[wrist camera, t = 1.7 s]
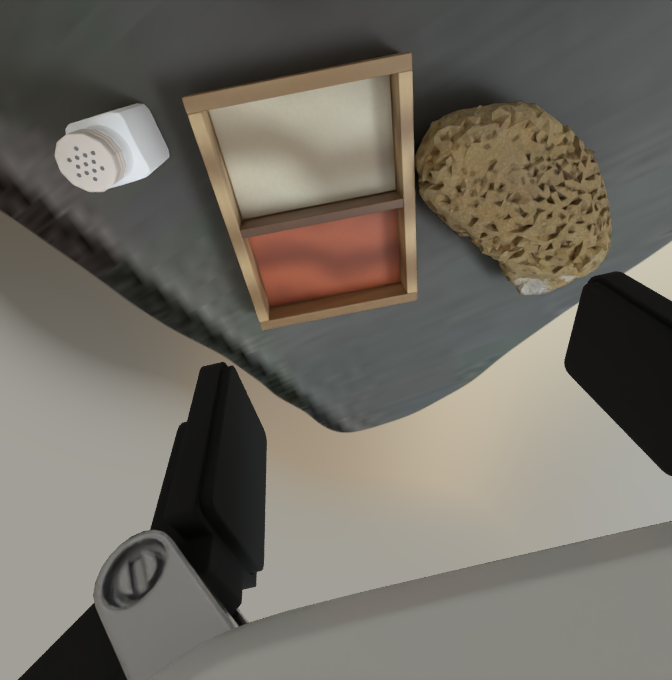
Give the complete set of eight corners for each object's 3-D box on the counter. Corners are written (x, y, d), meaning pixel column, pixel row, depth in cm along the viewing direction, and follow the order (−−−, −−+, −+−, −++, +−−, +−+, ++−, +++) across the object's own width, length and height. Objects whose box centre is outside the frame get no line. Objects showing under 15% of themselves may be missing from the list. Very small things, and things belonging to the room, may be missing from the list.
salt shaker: (97, 115, 28) (28, 136, 20) (147, 100, 27) (96, 115, 20) (128, 170, 30) (76, 207, 23) (174, 157, 30) (138, 189, 22)
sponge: (589, 216, 39) (562, 13, 25) (632, 267, 34) (627, 51, 20) (468, 275, 44) (390, 135, 30) (489, 326, 39) (410, 187, 26)
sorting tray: (190, 94, 28) (181, 97, 25) (400, 52, 27) (412, 52, 25) (263, 313, 40) (262, 330, 37) (409, 285, 40) (417, 300, 37)
